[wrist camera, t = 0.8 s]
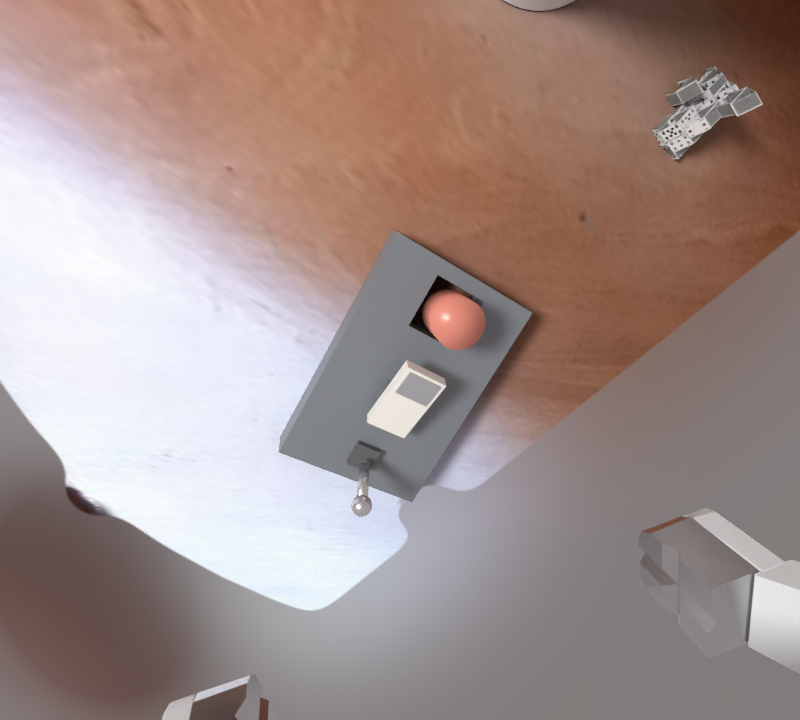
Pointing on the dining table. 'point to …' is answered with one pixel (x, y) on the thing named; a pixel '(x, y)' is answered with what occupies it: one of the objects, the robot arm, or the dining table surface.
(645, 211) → the dining table surface
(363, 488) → the toggle lever
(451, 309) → the push button
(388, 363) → the panel
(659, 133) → the house of cards
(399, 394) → the block
